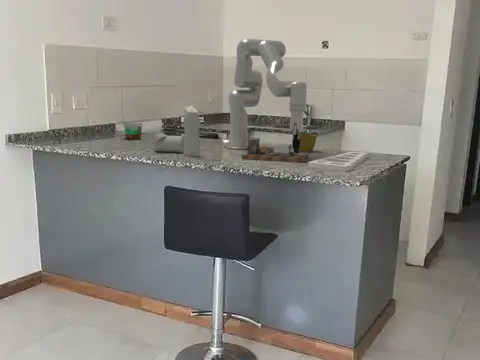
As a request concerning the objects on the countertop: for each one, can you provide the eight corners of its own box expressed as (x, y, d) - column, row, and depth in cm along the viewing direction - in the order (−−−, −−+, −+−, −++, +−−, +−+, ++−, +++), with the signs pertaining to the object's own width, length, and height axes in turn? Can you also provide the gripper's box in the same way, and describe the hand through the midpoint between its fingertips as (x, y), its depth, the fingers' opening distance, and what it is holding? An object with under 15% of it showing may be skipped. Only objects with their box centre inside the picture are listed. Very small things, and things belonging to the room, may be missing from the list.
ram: (273, 152, 257) (274, 131, 255) (277, 150, 264) (277, 130, 262) (297, 153, 254) (298, 132, 252) (300, 151, 261) (301, 131, 259)
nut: (256, 154, 261) (257, 145, 260) (258, 153, 265) (259, 144, 264) (265, 154, 259) (266, 145, 259) (267, 153, 264) (267, 144, 263)
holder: (351, 156, 274) (352, 151, 274) (385, 160, 264) (386, 155, 263) (307, 168, 239) (307, 162, 238) (344, 172, 228) (345, 166, 228)
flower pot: (300, 152, 282) (301, 135, 281) (294, 150, 291) (295, 133, 289) (316, 152, 285) (317, 135, 283) (309, 150, 293) (310, 133, 291)
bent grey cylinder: (141, 150, 275) (178, 151, 270) (143, 129, 275) (180, 131, 271) (155, 153, 292) (190, 154, 288) (156, 133, 293) (191, 135, 288)
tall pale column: (181, 155, 268) (180, 110, 264) (186, 154, 271) (186, 110, 267) (197, 157, 262) (197, 111, 258) (202, 156, 265) (202, 111, 261)
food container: (119, 139, 326) (119, 123, 324) (124, 138, 332) (124, 122, 330) (138, 140, 323) (137, 123, 321) (142, 139, 329) (142, 123, 327)
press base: (241, 159, 258) (241, 140, 256) (248, 155, 271) (249, 137, 270) (304, 162, 250) (304, 143, 249) (308, 158, 264) (309, 139, 262)
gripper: (292, 107, 262) (291, 144, 266) (286, 109, 247) (285, 149, 250) (308, 107, 260) (306, 145, 264) (302, 109, 245) (301, 149, 248)
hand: (296, 146), depth 257 cm, fingers closed on ram, 3 cm apart
